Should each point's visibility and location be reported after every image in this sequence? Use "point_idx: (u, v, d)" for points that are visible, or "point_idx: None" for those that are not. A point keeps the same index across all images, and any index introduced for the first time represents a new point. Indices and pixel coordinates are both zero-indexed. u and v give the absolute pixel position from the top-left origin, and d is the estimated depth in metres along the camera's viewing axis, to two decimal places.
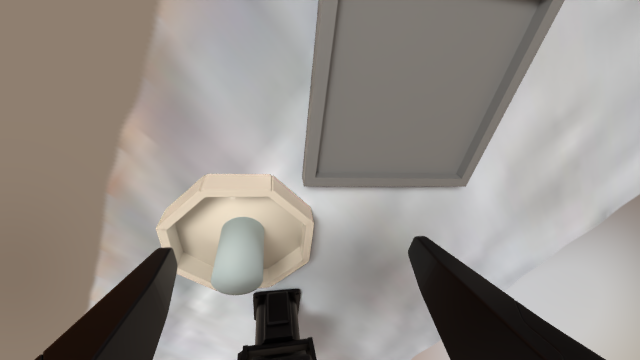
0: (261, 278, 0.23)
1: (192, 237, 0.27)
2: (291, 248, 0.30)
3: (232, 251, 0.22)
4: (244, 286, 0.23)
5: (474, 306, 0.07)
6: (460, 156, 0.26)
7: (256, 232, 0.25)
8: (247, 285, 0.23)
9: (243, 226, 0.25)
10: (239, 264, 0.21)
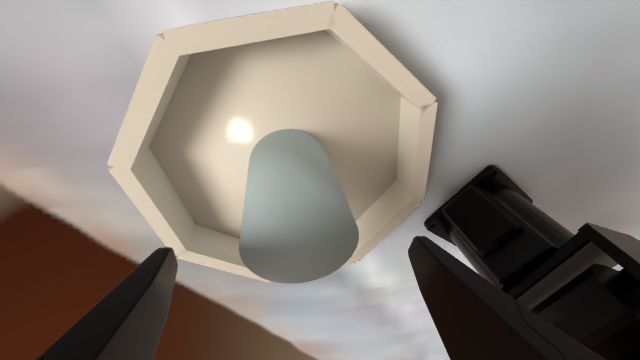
0: (334, 209, 0.09)
1: None
2: (391, 116, 0.14)
3: (244, 208, 0.10)
4: (330, 245, 0.10)
5: (474, 306, 0.07)
6: None
7: (279, 145, 0.11)
8: (331, 240, 0.09)
9: (256, 156, 0.12)
10: (250, 221, 0.08)
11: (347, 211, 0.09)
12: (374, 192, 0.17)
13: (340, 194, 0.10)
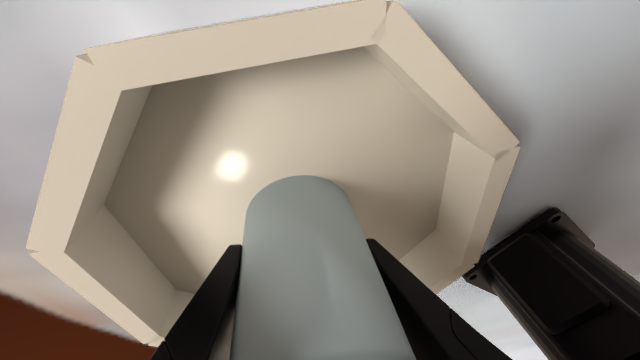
0: (387, 354, 0.05)
1: None
2: (438, 156, 0.10)
3: (234, 326, 0.06)
4: None
5: (407, 314, 0.07)
6: None
7: (288, 209, 0.08)
8: None
9: (254, 220, 0.08)
10: None
11: (406, 350, 0.05)
12: (406, 244, 0.13)
13: (387, 305, 0.06)
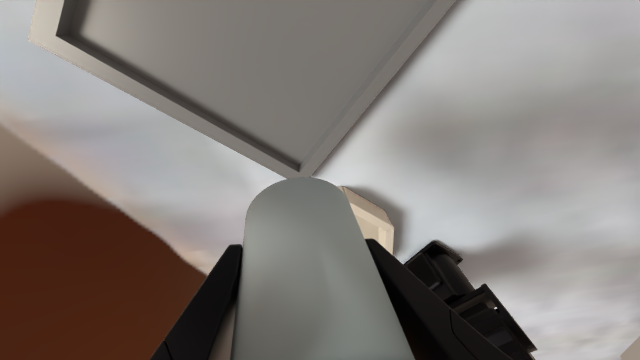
0: (387, 357, 0.05)
1: None
2: (374, 224, 0.27)
3: (235, 328, 0.06)
4: None
5: (407, 314, 0.07)
6: None
7: (289, 211, 0.08)
8: None
9: (254, 222, 0.08)
10: None
11: (405, 353, 0.05)
12: None
13: (387, 308, 0.06)
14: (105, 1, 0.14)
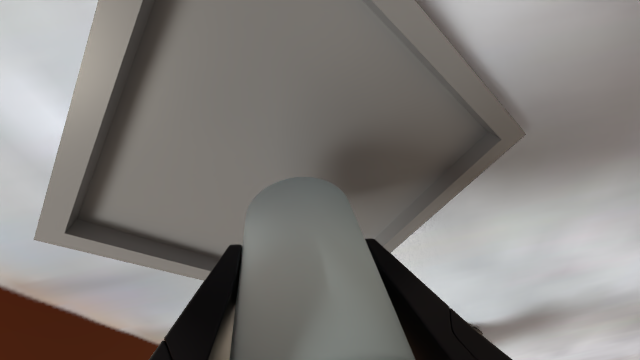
0: (388, 358, 0.05)
1: None
2: None
3: (234, 329, 0.06)
4: None
5: (407, 314, 0.07)
6: (460, 119, 0.13)
7: (288, 211, 0.08)
8: None
9: (254, 222, 0.08)
10: None
11: (406, 354, 0.05)
12: None
13: (387, 308, 0.06)
14: (118, 188, 0.12)
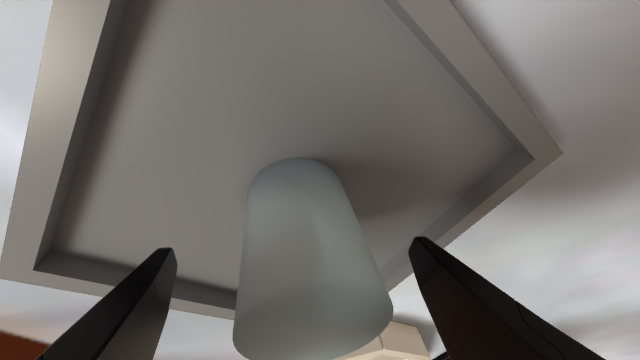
0: (364, 288, 0.06)
1: None
2: None
3: (240, 275, 0.07)
4: (354, 325, 0.07)
5: (474, 306, 0.07)
6: (489, 135, 0.12)
7: (286, 183, 0.09)
8: (356, 320, 0.07)
9: (256, 194, 0.10)
10: (248, 308, 0.06)
11: (380, 288, 0.07)
12: None
13: (367, 257, 0.07)
14: (95, 218, 0.11)
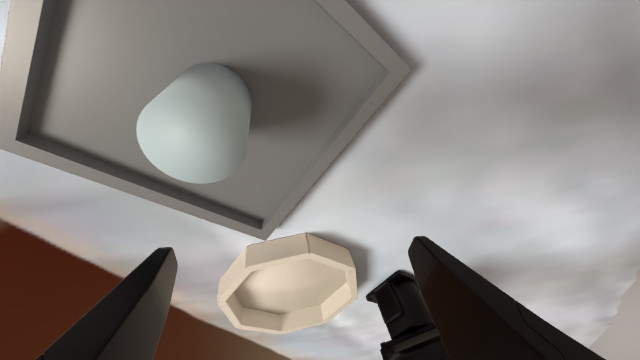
0: (214, 104, 0.10)
1: (271, 306, 0.31)
2: None
3: None
4: (221, 144, 0.12)
5: (474, 306, 0.07)
6: (356, 54, 0.16)
7: (192, 70, 0.13)
8: (220, 138, 0.11)
9: None
10: (142, 110, 0.10)
11: (228, 109, 0.11)
12: (334, 287, 0.32)
13: (230, 101, 0.12)
14: (61, 104, 0.15)
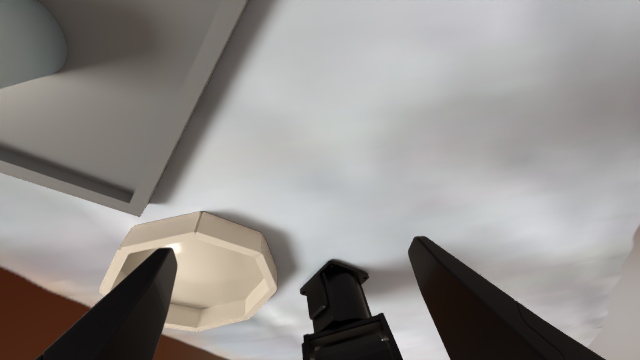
0: None
1: (186, 299, 0.28)
2: None
3: None
4: None
5: (474, 306, 0.07)
6: None
7: None
8: None
9: None
10: None
11: None
12: (257, 278, 0.28)
13: None
14: None
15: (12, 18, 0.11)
